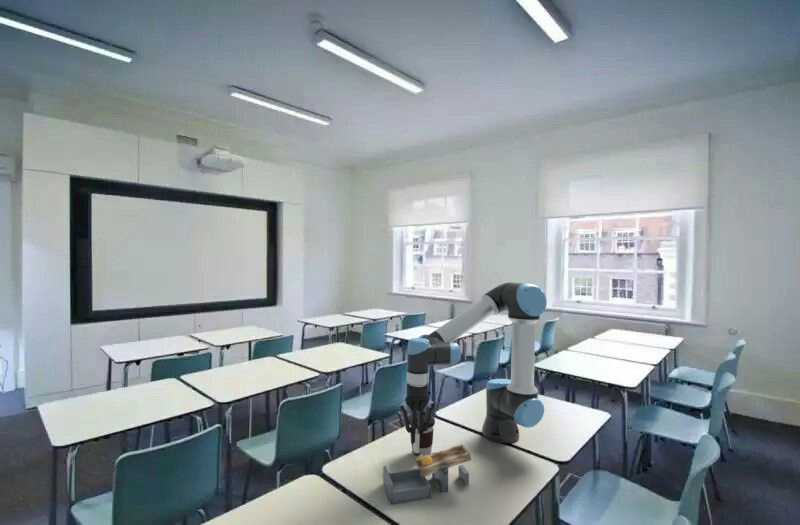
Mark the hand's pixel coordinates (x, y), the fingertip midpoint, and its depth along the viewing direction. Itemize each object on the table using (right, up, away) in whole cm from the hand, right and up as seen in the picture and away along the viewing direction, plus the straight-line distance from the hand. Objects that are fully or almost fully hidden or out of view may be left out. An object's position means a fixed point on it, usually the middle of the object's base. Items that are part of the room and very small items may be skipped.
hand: (416, 451), depth 131 cm
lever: (+8, 0, -3) cm, 9 cm away
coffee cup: (+3, -7, +12) cm, 14 cm away
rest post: (+16, -7, -5) cm, 18 cm away
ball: (+3, +1, -8) cm, 9 cm away
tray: (-3, -7, -11) cm, 13 cm away
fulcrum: (+8, -7, -7) cm, 13 cm away
